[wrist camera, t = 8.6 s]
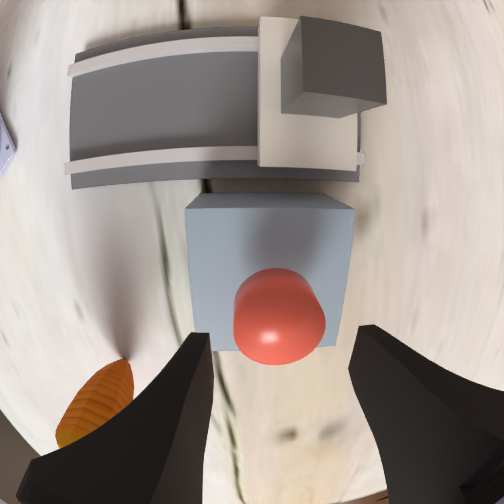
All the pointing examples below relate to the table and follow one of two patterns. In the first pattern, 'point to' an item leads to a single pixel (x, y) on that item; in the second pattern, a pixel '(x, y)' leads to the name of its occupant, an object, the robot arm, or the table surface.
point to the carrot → (97, 402)
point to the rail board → (172, 111)
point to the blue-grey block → (265, 253)
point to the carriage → (315, 90)
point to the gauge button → (277, 317)
